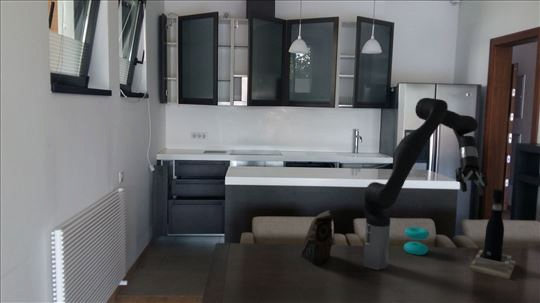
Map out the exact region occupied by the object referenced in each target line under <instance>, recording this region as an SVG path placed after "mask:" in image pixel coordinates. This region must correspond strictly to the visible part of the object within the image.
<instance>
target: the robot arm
mask: <svg viewBox="0 0 540 303" xmlns="http://www.w3.org/2000/svg"><path fill="white" fill-rule="evenodd" d="M448 108H449V106H448V103H447V101H446V100H442V99H437V98H432V97H431V98H430V97H423V98H420V99H419V100H418V101H417V102H416V105H415V110H414V111H415V114H416V116H417V117H418V118H419V119H420V120H423V121H424V122H423V123H422V124H421V125H420V126H419V127H418V128H415V130H413V131H412V132H409V133H408V134H406V135H405V136H404V137H402V139H401V140H400V141H399V143H398V144H397V146H396V148H395V149H394V152H393V154H392V172H391V175H390V176H389V178H388V179H387V182H386V183H381V182H377V181H372V182H370V183H369V184H368V185H367V187H366V188H365V191H364V217H365V233H364V235H365V236H364V237H365V238H364V251H363V252H364V254H363V267H366V268H368V269H373V270H377V271H380V270H384V269H387V268H388V261H389V248H390V247H389V246H390V245H389V244H390V231H391V229H390V228H391V218H390V216H389V214H387V213H386V211H385V210H388V209H390V208H392V207H393V205H394V204H395V203H396V201H397V200H398V198H399V195H400V193H401V191H402V188H403V186H404V184H405V182H406V180H407V178H408V177H409V175H410V173H411V170H412V168H413V167H414V166H415V164H416V162H417V161H418V159H419V157H420V156H421V155H422V152H423V151H424V149H425V147H426V145H427V144H428V142H429V141H430V138H431V137H432V136H433V134H434V133H435V131H436V130H437V128H439V127H440V125H443V126H445V127H447V128H449V129H451V130H452V131H453V133H454V135H455V137H456V140H457V143H458V149H459V152H458V153H459V163H460V164H459V165H460V166H459V167H457V168H456V169H455V182H456V183H458V182H459V184H460V188H461V191H462V192H463V193H466V192H468V186H467V181H471V182H473V183H474V184H475V185H477V187H478V194H479V196H481V197H482V196H484V195H485V194H486V191H485V187H488V186H489V183H488V179H487V178H488V177H487V173H486V172H483V173H482V172H480V159H479V153H478V152H479V151H478V148H477V143H476V142H477V141H476V138H475V137H474V136H471V135H467V134H470V133H473V132H475V131H477V130H478V128H479V123H478V121H477V119H476V118H475V117H473V116H471V115H464V114H463V115H462V114H460V113H457V112H455V111H452V110H448Z"/></svg>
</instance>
